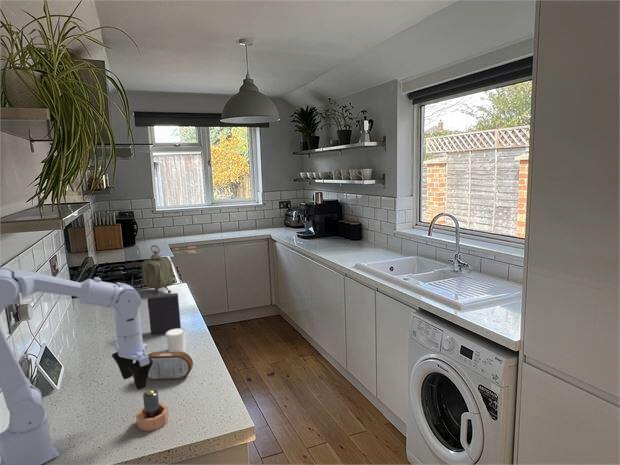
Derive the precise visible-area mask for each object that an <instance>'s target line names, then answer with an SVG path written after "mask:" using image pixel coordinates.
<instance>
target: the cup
mask: <svg viewBox="0 0 620 465" xmlns="http://www.w3.org/2000/svg"><path fill="white" fill-rule="evenodd" d="M159 410H160V415H158V416H156V417H154V418H145V409H144V406H143V407H142V408H139V410H138V412H136V413H137V414H136V415H135V417H136V419H135V420H136V425H137V427H138V428H139V430H141V431H143V432H153V431H156V430H159V429H161V428H162V427H164V426H165V425H167V422H168V421H169V416H170V415H169V414H170V413H169V407H168V406H167V405H165V404H164V403H163V402H161V403H160V402H159Z"/></svg>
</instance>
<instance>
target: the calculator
mask: <svg viewBox="0 0 620 465" xmlns="http://www.w3.org/2000/svg"><path fill="white" fill-rule="evenodd" d="M147 308H148V316H149V328H150V335H152V336H153V335H154V336H155V335H160V334H161V335H162V334H165V333H166V332H167V331H169V330H171V329H175V328H182V326H181V315H180V314H181V313H180V302H179V293H177V292H175V293H164V294H153V295H148V296H147Z"/></svg>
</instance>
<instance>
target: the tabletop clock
mask: <svg viewBox="0 0 620 465" xmlns="http://www.w3.org/2000/svg"><path fill="white" fill-rule="evenodd" d="M153 247H155V248H157V250H158V251H157V250H153ZM150 249H151V252H152V253H153V254H152V255H151V256H150V259H145V260H144V261H142V262H141V265H140V266H141V277H142V281H143V282H142V283H143V285H145V287H149V288H152V289H154V291H153V295H158V293H157V292H158V290H159V289H162V288H164V289H165V290H166V291H167V294H172V291H171V289H169V288H168V287H169V286H172V285H174V271H173V269H174V268H173V264H172V260H170V259H169V258H166V257H162V256H161V255H160V254H159V253H160V252H161V251H160V250H161V249H160V247H158V245H155V244H154V245H152V246H151V247H150Z"/></svg>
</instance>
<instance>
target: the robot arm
mask: <svg viewBox="0 0 620 465" xmlns="http://www.w3.org/2000/svg"><path fill="white" fill-rule="evenodd" d="M38 292H39V293H45V294H52V295H53V294H54V295H63V296H71V297H77V299H78V300H79V302H80V303H81V304H85V305H86V304H87V305H93V306H99V307H104V308H114V314H115V317H114V320H115V330H116V338H117V341H116V342H114V347H115V350H116V352H114V353H112V354H111V358H112V359H113V360H114V361H115V363H116V365H117V366H118V368H119V371H120V374H121V377H122V378H123V380H127V379H129V378H132V377H133V381H134V382H133V383H134V386H135V388H136V390H137V391H139V390H142V389H144V388H146V387H147V383H148V379H149V378H148V373H149V370H150V368H151V366H152V364H153V360H151V359H149V356H147V355H148V354H147V352H146V349H147V348H148V346H149V345H148V344H147V343H145V342H144V341H143V330H142V320H141V313H140V306H141V304H142V300H143V298H142V297H141V295H140V293H139V292H138V291H137V290H136V289H135V287H133V286H132V285H130V284H127V283H125V282H124V283H123V282H122V283H121V282H118V281H116V283H112V282H108V281H107V282H106V281H102V278H100V277H97V276H95V277H94V278H93V279H91V278H87V279H85V280H83V281H81V282H79V281H73V280H69V279H65V278H61V277H57V276H52V275H47V274H43V273H40V272H34V271H30V270H24V269H17V268H16V269H15V268H14V269H13V270H12V269H10V268H7V267H0V315H1V314H2V312H3V310H4V309H6V308H7V307H8V306H9V305H11V304H12V303H13V302H14V301H16V300H17V298H18V296H19V294H21V298H22V299H23V298H24V299H25V298H26V297H28V296H31V295H33V294H35V293H38ZM134 361H135V362H134ZM0 390H1V393H2V395H3V398H4V401H5V406H6V408H7V410H8V413H9V420H8V427H7V428H6V429H5V430H3V431H1V432H0V464H1V465H43V464H45V463H47V462H50V461H52V460H54V459H56V458H58V457H59V456H60V453H59V451H58V450H57V449H56V447H55V446H54V445H53V442H52V436H51V428H50V423H49V417H48V416H49V415H48V412H46V411H45V408H44V406H43V401H42V399H43V394H42V392H41V389H39V388H37V387H36V386H34V385H33V384H32V383H31V381H30V379H29V378H27V376H26V375H25V372H24V370H23V368H22V366H21V364H20V362H19V360H18V358H17V356H16V355H15V352H14V351H13V348H12V347H11V345H10V342H9V340H8V338H7V336H6V334H5V333H4V330H3V328H2V326H1V325H0Z"/></svg>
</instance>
